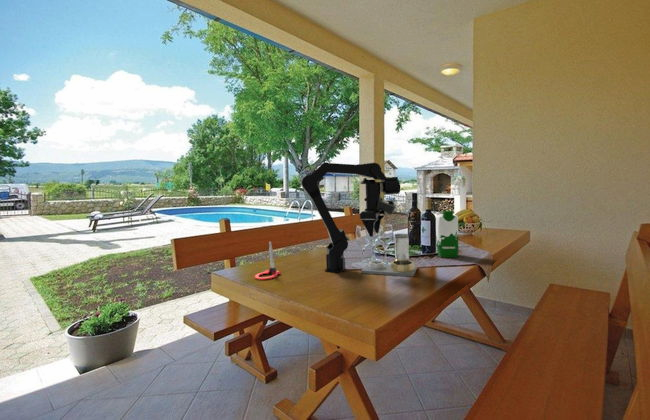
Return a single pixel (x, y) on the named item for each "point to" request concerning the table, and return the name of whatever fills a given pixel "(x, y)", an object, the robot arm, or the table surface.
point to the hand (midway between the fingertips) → (374, 234)
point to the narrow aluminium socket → (376, 265)
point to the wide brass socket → (402, 267)
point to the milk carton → (447, 234)
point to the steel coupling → (401, 249)
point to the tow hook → (271, 269)
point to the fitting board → (387, 271)
